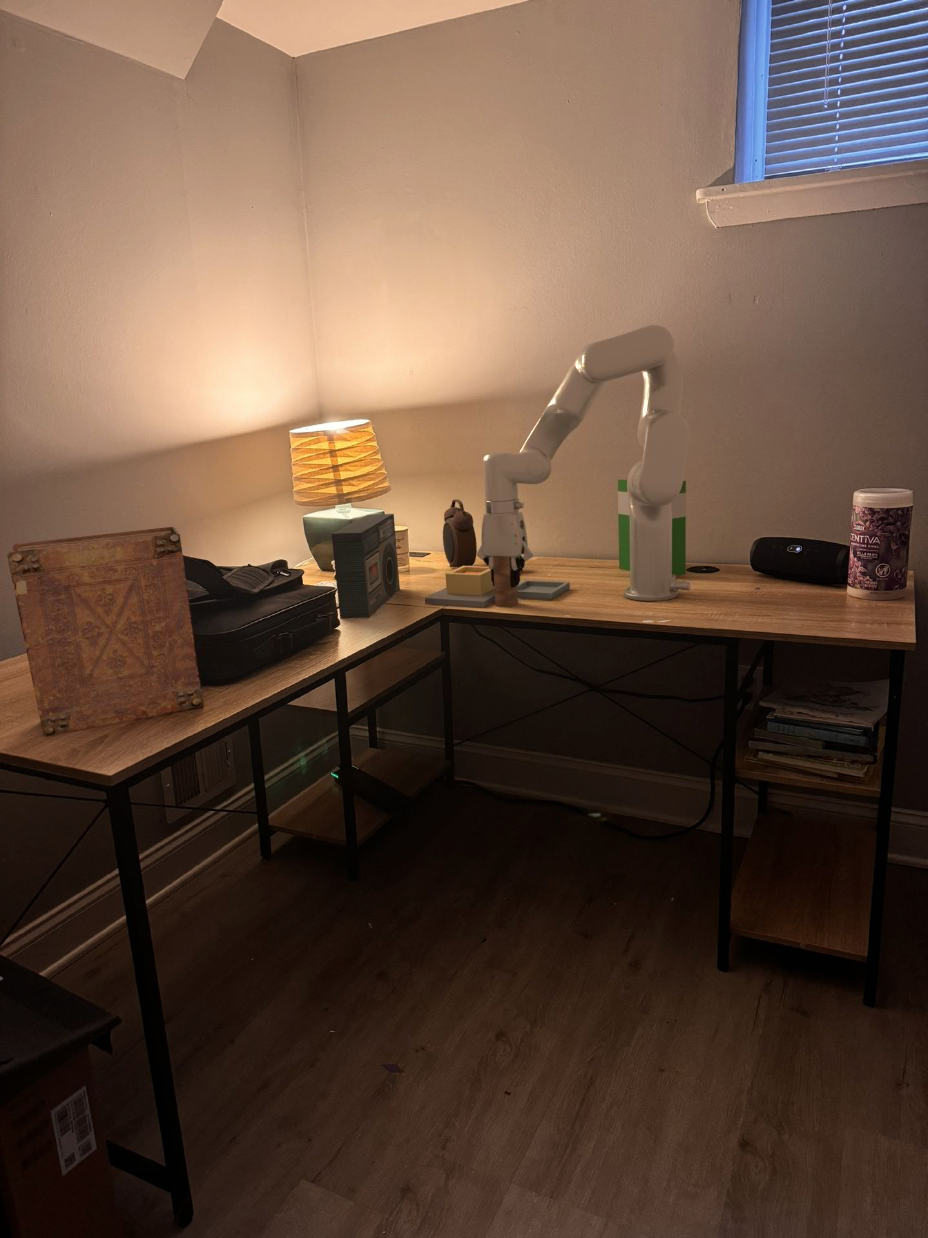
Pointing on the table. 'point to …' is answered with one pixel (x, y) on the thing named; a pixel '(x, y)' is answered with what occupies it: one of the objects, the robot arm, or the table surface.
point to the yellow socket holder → (465, 588)
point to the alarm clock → (459, 536)
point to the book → (106, 628)
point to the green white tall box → (677, 529)
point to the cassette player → (365, 565)
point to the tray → (541, 589)
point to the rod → (504, 582)
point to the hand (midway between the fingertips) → (505, 584)
